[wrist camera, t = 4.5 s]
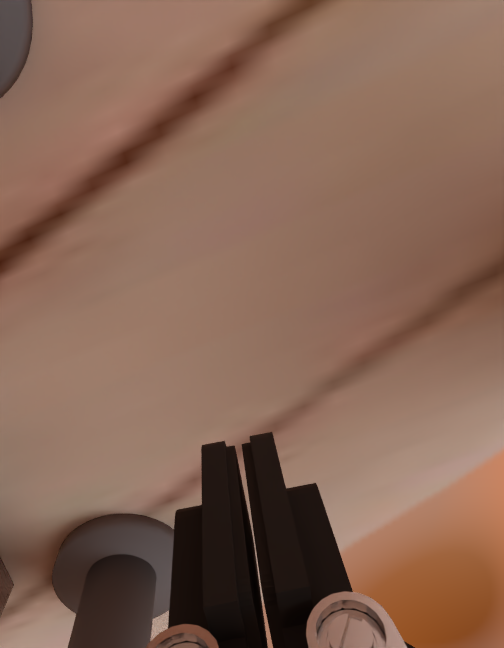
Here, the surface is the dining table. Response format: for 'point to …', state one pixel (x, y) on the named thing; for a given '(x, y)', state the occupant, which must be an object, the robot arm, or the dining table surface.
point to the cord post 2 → (115, 579)
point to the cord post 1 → (14, 40)
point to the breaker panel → (4, 586)
